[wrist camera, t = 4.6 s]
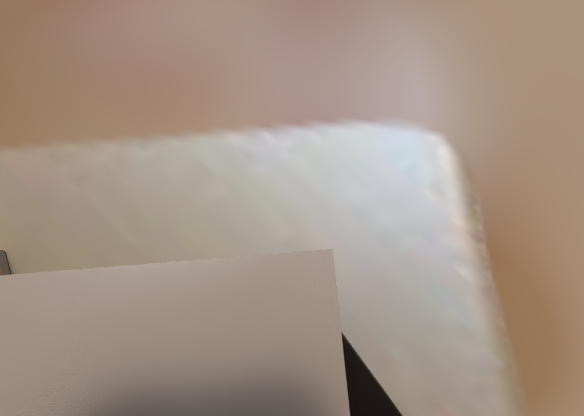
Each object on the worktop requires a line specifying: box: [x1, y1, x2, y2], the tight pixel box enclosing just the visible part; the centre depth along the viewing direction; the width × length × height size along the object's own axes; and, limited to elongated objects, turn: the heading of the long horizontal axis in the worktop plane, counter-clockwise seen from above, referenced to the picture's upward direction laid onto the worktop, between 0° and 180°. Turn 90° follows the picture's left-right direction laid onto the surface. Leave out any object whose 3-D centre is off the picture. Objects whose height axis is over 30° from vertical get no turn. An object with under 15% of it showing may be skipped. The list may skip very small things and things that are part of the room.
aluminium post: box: [0, 249, 350, 416], centre depth 9 cm, size 4×4×13 cm
